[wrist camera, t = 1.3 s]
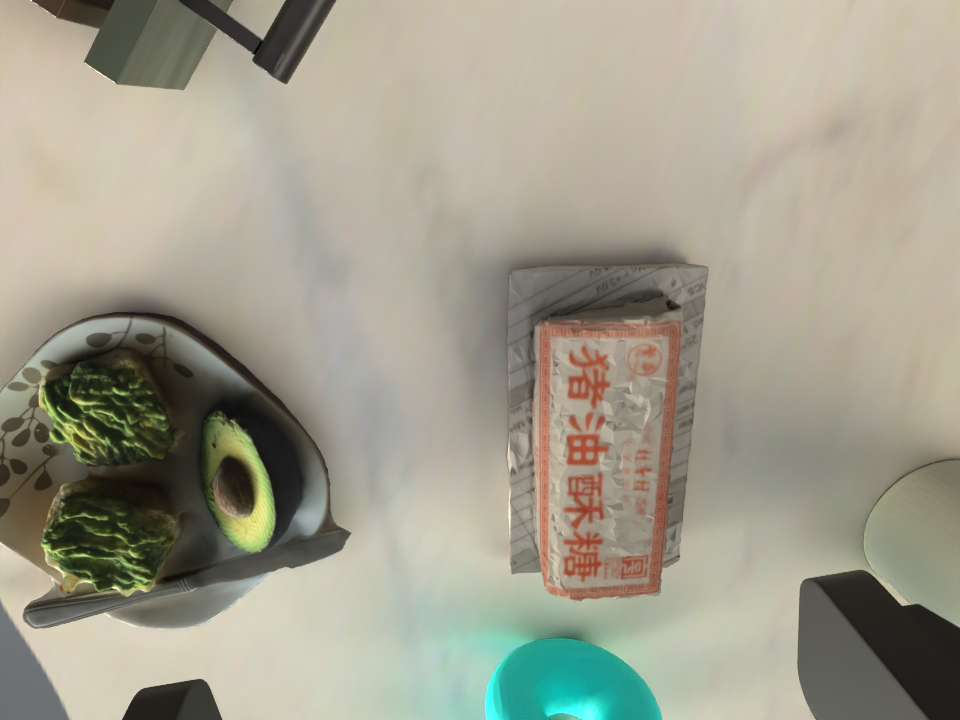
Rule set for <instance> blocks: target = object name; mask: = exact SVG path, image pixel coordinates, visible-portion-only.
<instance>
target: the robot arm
mask: <svg viewBox="0 0 960 720" xmlns="http://www.w3.org/2000/svg"><path fill="white" fill-rule="evenodd" d="M797 664H798V674H799V680H800V684H801V687H802V690H803V694H804V696H805V699H806V701H807V704H808V706H809V708H810V710H811V712H812V714H813V716H814V717H815V719H816V720H960V627H958V626H956V625H955V624H953V623H951V622H949V621H948V620H946V619H944V618H942V617H941V616H939V615H937V614H936V613H934V612H932V611H930V610H929V609H927V608H925V607H924V606H922V605H920V604H913V605H907V606H901V605H900V604H899V603H898V602H897V600H896V599H895V598H894V597H893V596H892V595H891V594H890V593H889V592H888V591H887V590H886V589H885V588H884V587H883V586H882V585H881V584H880V583H879V581H878V580H877V579H876V578H875V577H873V576H872V575H871V574H870V573H868V572H867V571H864V570H855V571H849V572H843V573H837V574H832V575H826V576H820V577H814V578H808V579H805V580H804V581H803V582H802V584H801V587H800V598H799V630H798V661H797ZM122 720H222V718H221V715H220V713H219V710H218V707H217V705H216V702H215V700H214V697H213V694H212V692H211V689H210V687H209V685H208V684H207V682H205V681H204V680H202V679H196V680H190V681H184V682H178V683H172V684H166V685H160V686H154V687H148V688H144V689H142V690H140V691H139V692H138V693H137V694H136V695H135V696H134V698H133V700H132V701H131V703H130V705H129V707H128V709H127V711H126V713H125V715H124V717H123V719H122Z"/></svg>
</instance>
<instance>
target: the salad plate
mask: <svg viewBox="0 0 960 720" xmlns="http://www.w3.org/2000/svg"><path fill="white" fill-rule="evenodd" d="M350 534H351V533H350V532H349V531H347V530H345V529H343V528H341V527H339V526H337V525H336V524H335V523H334V521H333V518H332V516H331V511H330V482H329V477H328V470H327V467H326V464H325V460H324V458H323V456H322V454H321V452H320V450H319V449H318V447H317V445H316V444H315V442H314V441H313V440H312V438H311V437H310V435H309V434H308V433H307V431H306V430H305V429H304V428H303V426H302V425H301V424H300V423H299V421H298V420H297V419H296V418H295V417H294V416H293V415H292V414H291V412H290V411H289V410H288V409H287V408H286V406H285V405H284V404H283V402H282V401H281V400H280V399H278V398H277V397H276V396H275V395H274V394H273V393H271V392H270V391H269V390H268V389H267V388H266V387H265V386H264V385H263V384H262V383H261V382H260V381H259V380H258V379H257V378H256V377H255V376H254V375H253V374H252V373H251V372H250V371H249V370H248V369H247V368H246V367H245V366H244V365H243V364H241V363H240V362H239V361H237V360H236V359H235V358H233V357H232V356H231V355H230V354H229V353H227V352H226V351H225V350H224V349H223V348H221V347H220V346H219V345H218V344H217V343H215V342H214V341H212V340H210V339H209V338H207V337H206V336H205V335H203V334H202V333H200V332H199V331H197V330H196V329H195V328H193V327H191V326H190V325H188V324H186V323H185V322H183V321H182V320H179V319H177V318H175V317H172V316H167V315H161V314H155V313H142V312H114V313H108V314H103V315H96V316H92V317H88V318H85V319H82V320H80V321H78V322H76V323H74V324H72V325H70V326H68V327H66V328H64V329H62V330H60V331H58V332H57V333H56V334H55V335H53V336H52V337H51V338H50V339H48V340H47V341H46V342H45V343H44V344H43V345H42V346H41V347H40V348H39V349H38V350H36V351H35V353H34V354H33V356H32V357H31V358H30V359H29V360H28V361H27V362H26V363H25V365H24V366H23V367H22V369H21V370H20V371H19V372H18V373H17V374H16V375H15V376H14V377H13V378H12V379H11V380H10V381H9V382H8V383H7V384H6V385H5V386H4V387H3V388H2V390H1V391H0V543H1V544H2V545H4V546H5V547H7V548H9V549H10V550H12V551H13V552H15V553H16V554H17V555H19V556H21V557H22V558H24V559H26V560H27V561H29V562H30V563H32V564H33V565H34V566H36V567H37V568H39V569H40V570H42V571H43V572H44V573H46V574H47V575H49V576H50V578H51V580H52V582H53V588H52V589H51V590H50V591H49V592H48V593H46V594H45V595H44V596H43V597H41V598H39V599H36V600H33V601H31V602H30V603H29V604H28V605H27V606H26V607H25V609H24V612H23V620H24V622H25V623H26V624H27V625H29V626H30V627H32V628H34V629H38V628H49V627H54V626H58V625H61V624H66V623H69V622H72V621H76V620H79V619H83V618H86V617H90V616H93V615H97V614H101V613H104V614H106V615H107V616H110V617H112V618H114V619H116V620H119V621H121V622H123V623H126V624H130V625H132V626H136V627H141V628H149V629H188V628H193V627H196V626H200V625H202V624H205V623H207V622H209V621H210V620H211V619H213V618H215V617H216V616H218V615H220V614H221V613H223V612H224V611H226V610H227V609H228V608H230V607H231V606H232V605H234V604H235V603H236V602H237V601H238V600H239V599H240V598H242V597H243V596H244V595H245V594H246V593H247V592H249V591H250V590H251V589H252V588H254V587H255V586H256V585H257V584H259V583H260V582H261V581H262V580H263V579H264V578H265V577H266V576H267V575H268V574H269V573H270V572H272V571H275V570H277V569H279V568H283V567H289V568H295V567H298V566H302V565H306V564H309V563H312V562H314V561H317V560H320V559H323V558H325V557H328V556H330V555H333V554H335V553H336V552H339V551H341V550H342V549H343V546H344V545H345V542H346V540H347V539H348V538H349V536H350Z"/></svg>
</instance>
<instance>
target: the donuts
mask: <svg viewBox="0 0 960 720" xmlns="http://www.w3.org/2000/svg"><path fill="white" fill-rule="evenodd" d="M556 713H569V714H572V715H575V716H577V717H579V718H581V719H582V720H662V716H661V712H660V709H659V707H658V704H657V702H656V699H655V697H654V695H653V693H652V692H651V690H650V689H649V687H648V686H647V684H646V683H645V682H644V680H643V679H642V678H641V677H640V676H639V675H638V674H637V672H636V671H635V670H633V669H632V668H631V667H630V666H629V665H628V664H627V663H625V662H624V661H623V660H621V659H620V658H619V657H617V656H615V655H614V654H612V653H610V652H609V651H607V650H605V649H603V648H601V647H598V646H596V645H593V644H590V643H587V642H583V641H579V640H575V639H567V638H549V639H541V640H537V641H533V642H530V643H527V644H525V645H523V646H521V647H519V648H517V649H515V650H514V651H513V652H511V653H510V654H509V655H508V656H507V657H505V658H504V659H503V660H502V661H501V663H500V664H499V665H498V667H497V668H496V670H495V672H494V673H493V675H492V677H491V680H490V682H489V685H488V690H487V695H486V717H487V720H550V719H549V718H548V717H549V716H550V715H552V714H556Z"/></svg>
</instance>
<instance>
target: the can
mask: <svg viewBox="0 0 960 720" xmlns="http://www.w3.org/2000/svg"><path fill="white" fill-rule="evenodd" d="M864 551H865V555H866V558H867V561H868V563H869V565H870V566H871V568H872V569H873V571H874V572H875V573H876V574H877V575H878V576H879V577H880V578H882V579H883V580H884V581H886V582H888V583H889V584H890V585H891V586H892V587H893V588H894V589H895V590H896V591H897V592H898V593H899V594H900V595H901V596H903V597H904V598H905V599H906V600H907V601H908V603H909V604H910V605H913V604H920V605H922V606H924V607H925V608H927V609H929V610H930V611H932V612H934V613H936V614H937V615H939V616H941V617H942V618H944V619H946V620H948V621H949V622H951V623H953V624H955V625H956V626H958V627H960V460H949V461H942V462H938V463H933V464H930V465H927V466H925V467H922V468H920V469H918V470H915V471H914V472H912V473H910V474H908V475H906V476H905V477H904V478H902V479H901V480H899V481H898V482H897V483H895V484H894V485H893V486H892V487H891V488H890V489H889V490H888V491H887V492H886V493H885V494H884V495H883V496H882V497H881V498H880V500H879V501H878V502H877V504H876V505H875V507H874V508H873V510H872V512H871V514H870V516H869V518H868V521H867V524H866V527H865V532H864Z"/></svg>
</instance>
